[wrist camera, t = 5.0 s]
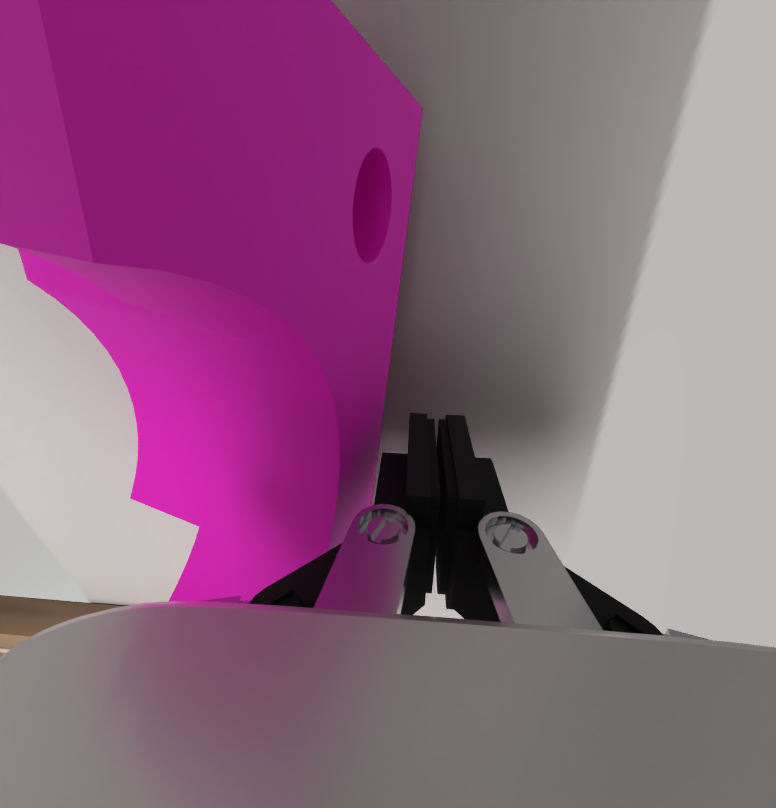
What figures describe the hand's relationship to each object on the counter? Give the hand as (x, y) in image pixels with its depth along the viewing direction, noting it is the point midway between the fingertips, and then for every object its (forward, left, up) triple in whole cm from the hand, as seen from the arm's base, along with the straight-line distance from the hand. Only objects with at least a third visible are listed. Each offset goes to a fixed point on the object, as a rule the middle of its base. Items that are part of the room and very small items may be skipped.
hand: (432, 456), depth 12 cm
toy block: (-2, -5, -1) cm, 5 cm away
